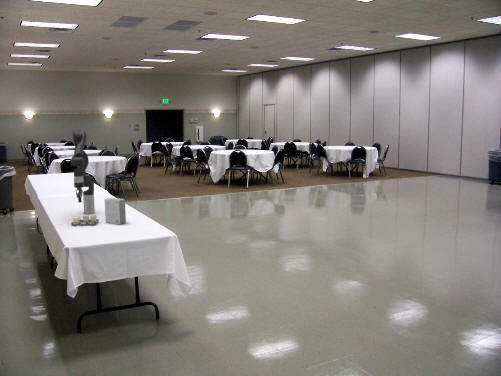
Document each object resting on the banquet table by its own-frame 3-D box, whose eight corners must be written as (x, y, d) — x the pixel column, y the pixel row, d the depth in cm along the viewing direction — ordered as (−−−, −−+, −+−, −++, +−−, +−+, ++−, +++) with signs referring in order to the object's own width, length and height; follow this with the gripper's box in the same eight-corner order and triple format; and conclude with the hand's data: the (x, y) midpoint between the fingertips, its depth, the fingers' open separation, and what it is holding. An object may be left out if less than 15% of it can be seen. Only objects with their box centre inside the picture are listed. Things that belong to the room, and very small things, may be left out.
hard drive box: (126, 222, 402) (125, 199, 399) (120, 224, 396) (119, 200, 392) (111, 221, 409) (110, 197, 406) (105, 223, 402) (104, 199, 399)
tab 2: (84, 220, 402) (83, 214, 402) (89, 220, 403) (88, 214, 402) (83, 221, 398) (82, 215, 398) (88, 221, 399) (87, 215, 398)
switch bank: (75, 222, 403) (75, 219, 403) (98, 222, 405) (98, 218, 404) (71, 226, 391) (71, 222, 390) (95, 225, 393) (95, 222, 392)
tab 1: (74, 222, 395) (74, 216, 395) (79, 222, 396) (79, 216, 395) (73, 223, 392) (73, 217, 391) (78, 223, 392) (78, 217, 391)
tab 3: (91, 220, 403) (91, 214, 402) (96, 220, 403) (96, 214, 403) (90, 221, 399) (90, 215, 398) (95, 221, 399) (95, 215, 399)
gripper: (76, 180, 405) (77, 200, 408) (71, 182, 392) (73, 204, 395) (85, 180, 406) (86, 200, 409) (81, 182, 393) (82, 203, 396)
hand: (80, 202), depth 402 cm, fingers closed
